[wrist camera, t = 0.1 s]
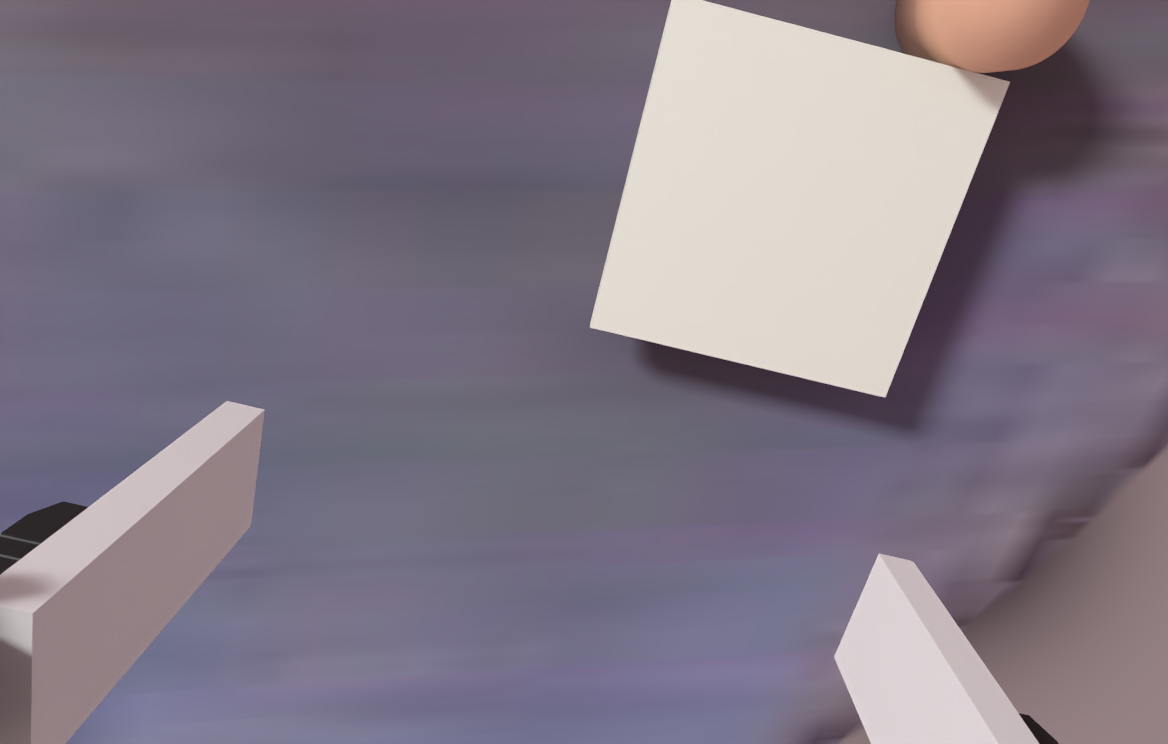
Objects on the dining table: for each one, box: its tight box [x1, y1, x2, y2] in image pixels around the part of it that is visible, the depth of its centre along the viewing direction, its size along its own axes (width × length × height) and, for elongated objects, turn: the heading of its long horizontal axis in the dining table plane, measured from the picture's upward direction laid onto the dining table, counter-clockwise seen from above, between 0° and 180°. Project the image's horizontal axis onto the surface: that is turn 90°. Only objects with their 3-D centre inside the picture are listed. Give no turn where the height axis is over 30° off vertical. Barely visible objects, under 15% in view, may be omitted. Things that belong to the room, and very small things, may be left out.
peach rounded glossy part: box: [895, 0, 1089, 74], centre depth 35 cm, size 6×6×6 cm
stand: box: [590, 0, 1010, 398], centre depth 39 cm, size 16×16×4 cm
